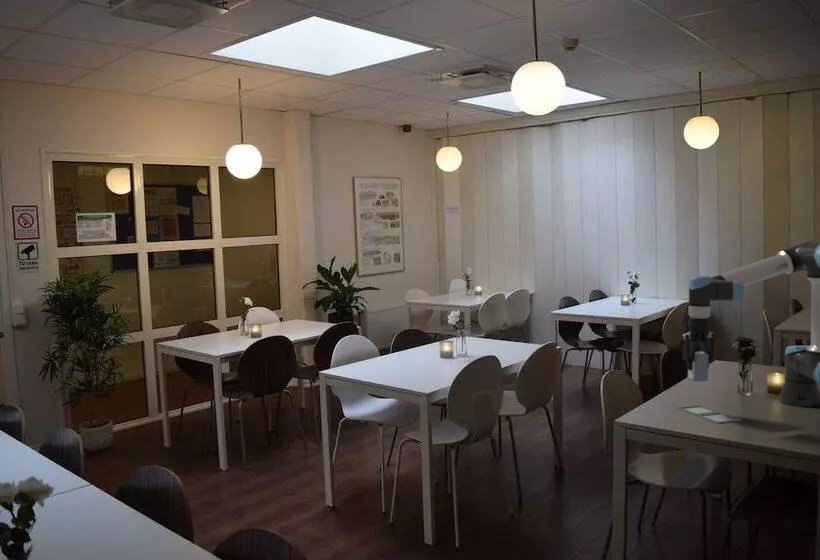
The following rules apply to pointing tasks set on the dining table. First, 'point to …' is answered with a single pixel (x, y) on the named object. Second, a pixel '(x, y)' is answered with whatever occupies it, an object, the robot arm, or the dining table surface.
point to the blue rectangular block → (701, 366)
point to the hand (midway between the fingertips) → (697, 377)
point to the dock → (709, 414)
